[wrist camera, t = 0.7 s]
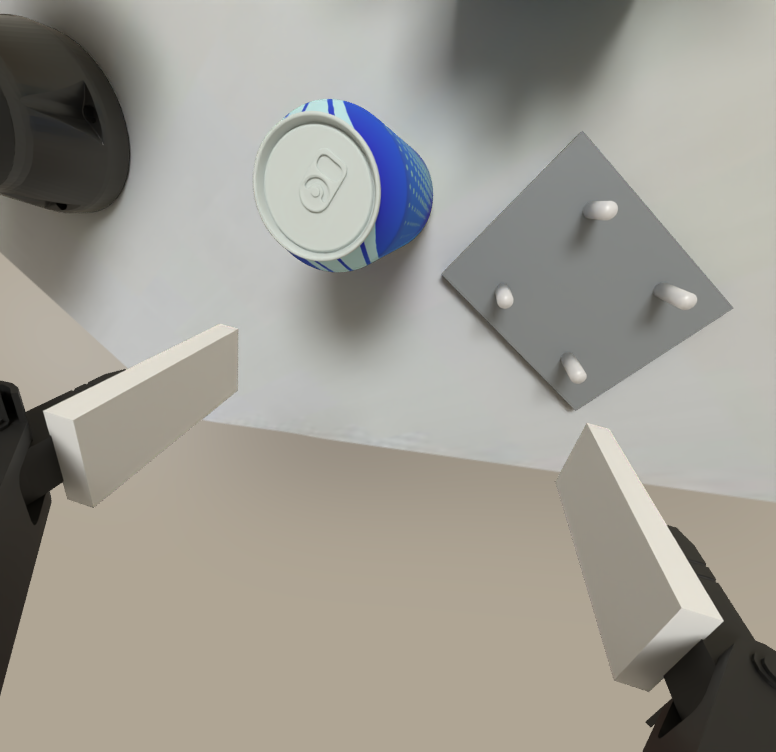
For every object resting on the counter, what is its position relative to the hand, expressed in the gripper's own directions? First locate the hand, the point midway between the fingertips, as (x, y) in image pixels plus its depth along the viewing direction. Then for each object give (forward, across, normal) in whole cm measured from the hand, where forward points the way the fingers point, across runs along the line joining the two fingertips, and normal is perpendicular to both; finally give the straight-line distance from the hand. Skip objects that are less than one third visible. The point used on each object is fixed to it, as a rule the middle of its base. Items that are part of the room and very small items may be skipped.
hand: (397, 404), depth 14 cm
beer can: (+23, -6, +6) cm, 25 cm away
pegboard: (+23, +11, +2) cm, 25 cm away
